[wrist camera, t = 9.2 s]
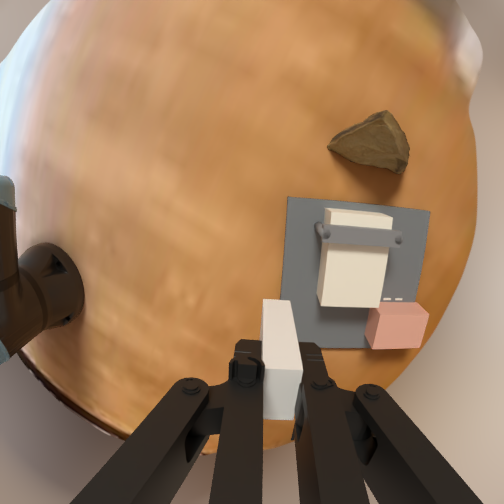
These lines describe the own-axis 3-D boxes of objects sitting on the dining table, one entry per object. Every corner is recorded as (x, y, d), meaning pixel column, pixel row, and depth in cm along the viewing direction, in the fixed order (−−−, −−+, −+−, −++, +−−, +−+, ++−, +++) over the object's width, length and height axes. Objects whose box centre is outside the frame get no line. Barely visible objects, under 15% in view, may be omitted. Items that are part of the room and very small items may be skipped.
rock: (429, 155, 36) (389, 94, 33) (432, 185, 30) (386, 112, 28) (369, 185, 44) (329, 132, 41) (360, 217, 38) (313, 157, 36)
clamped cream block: (307, 292, 43) (312, 309, 37) (315, 206, 40) (322, 212, 34) (377, 295, 42) (390, 311, 37) (389, 213, 39) (405, 219, 34)
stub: (364, 334, 44) (372, 349, 40) (371, 301, 43) (380, 314, 38) (409, 333, 44) (419, 347, 39) (417, 302, 42) (429, 314, 38)
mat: (276, 342, 46) (276, 346, 45) (287, 196, 41) (288, 197, 40) (400, 344, 45) (403, 347, 44) (427, 210, 40) (430, 211, 39)
